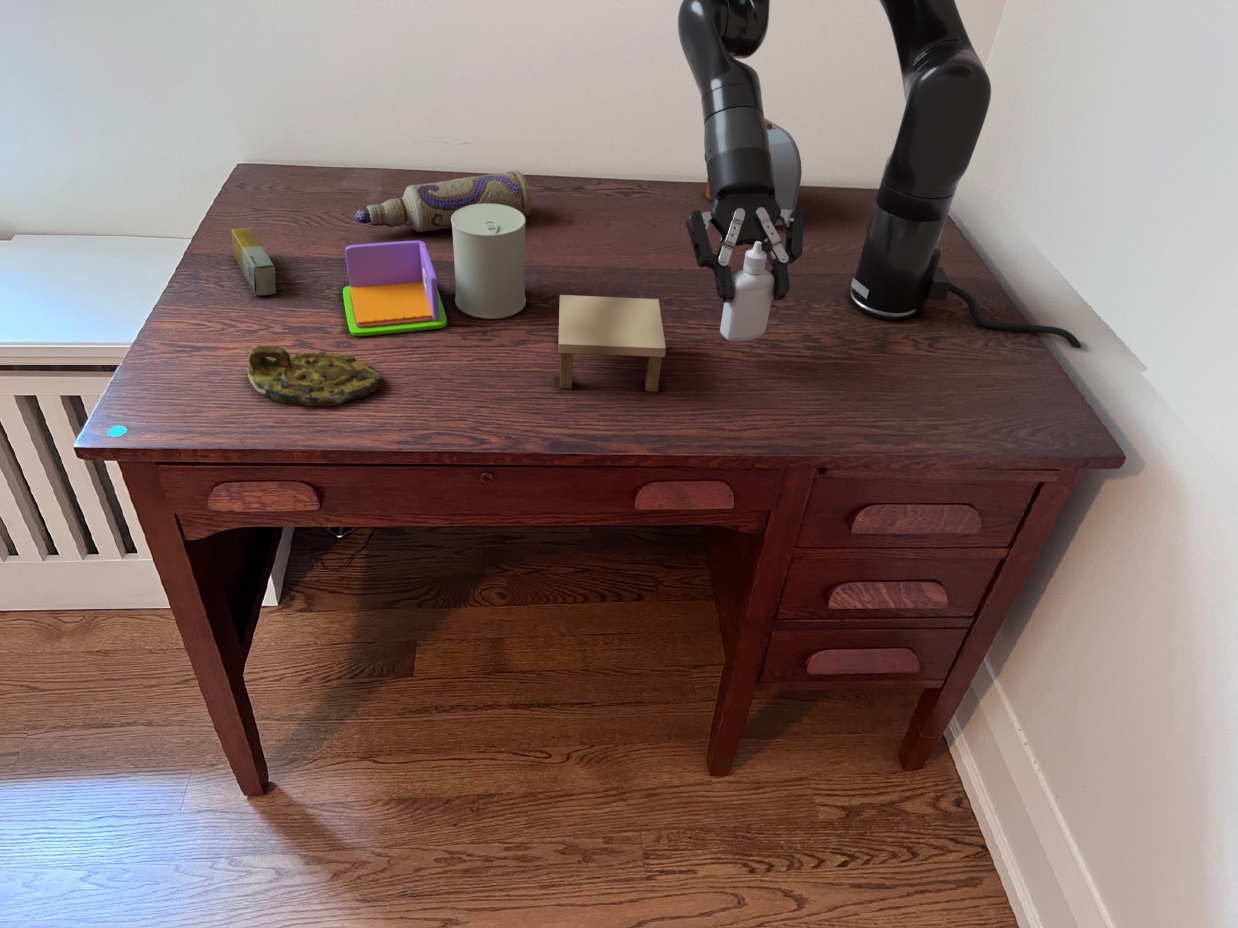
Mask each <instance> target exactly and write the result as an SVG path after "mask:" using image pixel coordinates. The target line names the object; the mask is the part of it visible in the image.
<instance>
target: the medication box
mask: <svg viewBox="0 0 1238 928" xmlns="http://www.w3.org/2000/svg"><path fill="white" fill-rule="evenodd" d="M230 230H231V242H232V253H233V255H232V256H233V257H234V259H235V261H236V262H237V264H238V266H239V268H240V271H242V273H243V275H244V277H245V279H246V281H247V283H248V285H249V287H250V288H251V290H252V292H253V293H254V295H255V297H269V296H275V295H276V294H277V285H276V284H277V283H276V268H275V267H276V266H275V265H274V263H273V261H272V260H271V258H270V256H269V255H268V253H267V252H266V250H265V249H264V247H263V245H262V244H261V242H260V240H259V239H258V237H257V235H256V233H255V232H254V230H253V229H252V228H251V227H240V228H239V227H237V228H231V229H230Z"/></svg>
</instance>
